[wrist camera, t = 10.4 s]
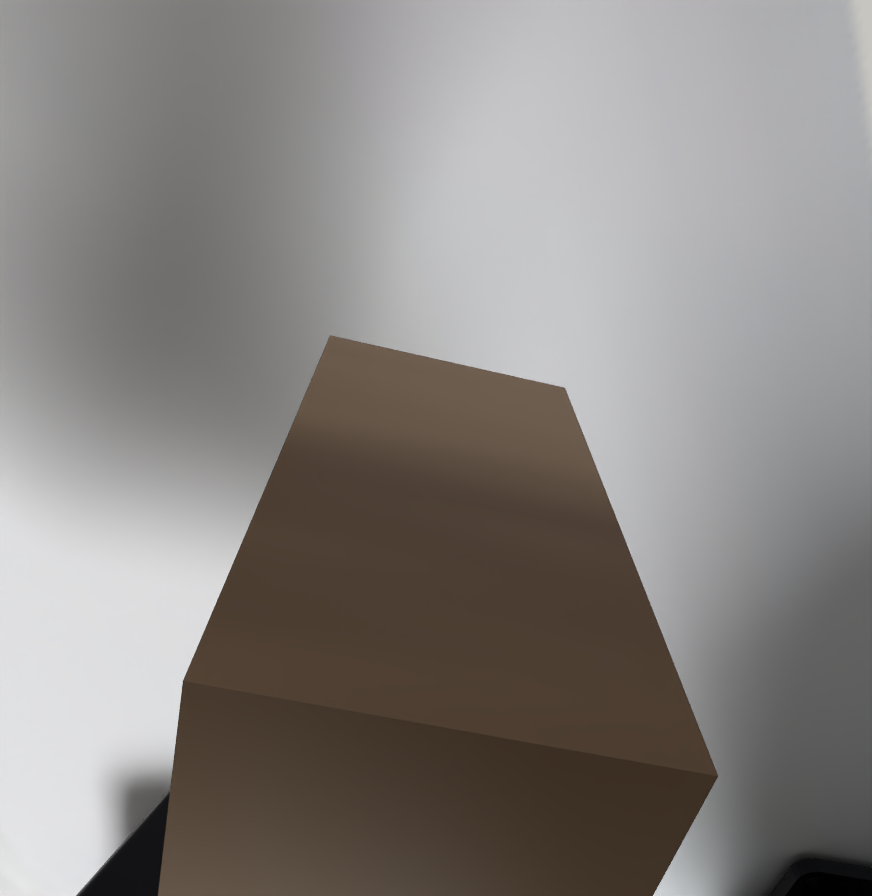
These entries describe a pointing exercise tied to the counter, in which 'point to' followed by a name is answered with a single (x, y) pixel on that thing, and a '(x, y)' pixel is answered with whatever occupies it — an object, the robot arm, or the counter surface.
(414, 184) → the counter surface
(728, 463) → the counter surface
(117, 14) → the counter surface
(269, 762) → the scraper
